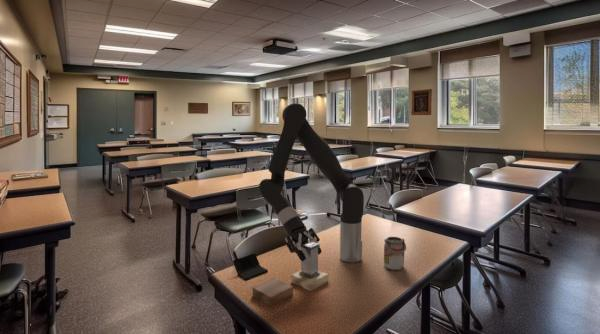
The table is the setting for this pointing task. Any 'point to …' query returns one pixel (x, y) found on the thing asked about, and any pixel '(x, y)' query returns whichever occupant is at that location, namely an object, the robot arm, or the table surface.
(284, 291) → the stand
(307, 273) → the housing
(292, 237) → the robot arm
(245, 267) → the handheld gaming console
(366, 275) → the table surface
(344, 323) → the table surface
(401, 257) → the beverage can
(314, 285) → the stand
